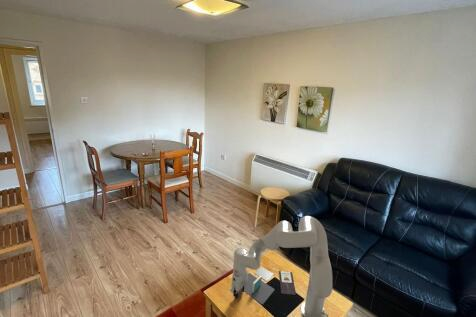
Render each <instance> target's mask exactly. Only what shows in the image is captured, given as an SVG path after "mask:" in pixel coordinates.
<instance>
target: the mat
mask: <svg viewBox="0 0 476 317" xmlns="http://www.w3.org/2000/svg"><path fill="white" fill-rule="evenodd" d="M257 278H258V277H256V276H255V275H254V274H252V273H251V272H249V273H248V281H247V283H246V284H245V286H244V292H243V293H245V294H247V295H248V296H249V297H251V298H253V299H254V300H255V301H257V302H258V303H260V304H261V305H264V303H266V301H267V300H268V299H269V297H270V296H271V295H272V294H273V293H274V292H275V288H273V287H272V286H270V285H269V284H268V283H265V282H264V281H263V280H261V285H260V287H259V288H258V289H257V290H256V291H255V292H254V293H253V292H252V288H253V282H254V281H255V280H256V279H257Z"/></svg>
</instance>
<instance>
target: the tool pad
mask: <svg viewBox="0 0 476 317" xmlns="http://www.w3.org/2000/svg"><path fill="white" fill-rule="evenodd" d="M254 275H256V276H258V277H259V276H260V275H261V276H262V279H263V280H264V281H266V282H268V281H269V280H270V279H271V278H272V277H273V276H274V273H273V272H272V271H269V270H267V269H266V268H264V267H262V266H260V267H259V268H258V269H256V271H255V272H254ZM262 279H261V280H262Z"/></svg>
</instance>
